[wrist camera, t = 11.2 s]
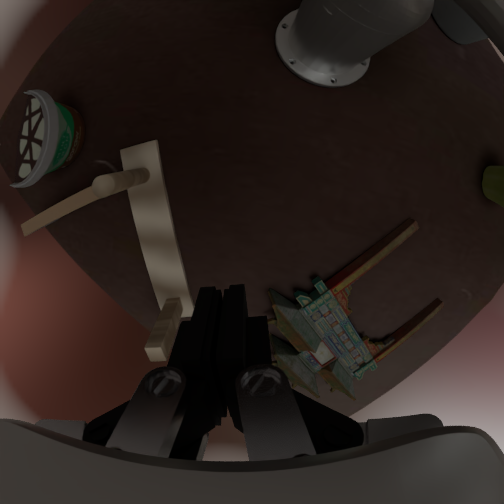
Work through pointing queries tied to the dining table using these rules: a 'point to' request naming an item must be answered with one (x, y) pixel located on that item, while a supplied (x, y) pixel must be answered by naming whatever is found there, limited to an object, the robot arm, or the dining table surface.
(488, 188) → the plant pot
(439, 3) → the water bottle
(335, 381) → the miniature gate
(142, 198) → the gate frame
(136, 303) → the dining table surface
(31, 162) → the food container
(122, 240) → the dining table surface
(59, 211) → the panel
